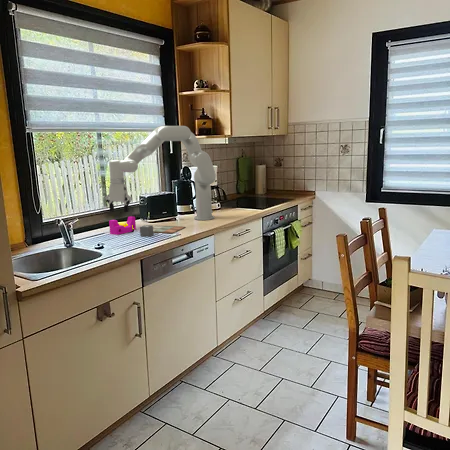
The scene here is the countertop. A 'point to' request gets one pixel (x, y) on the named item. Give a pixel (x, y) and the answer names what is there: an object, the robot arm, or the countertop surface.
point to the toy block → (119, 229)
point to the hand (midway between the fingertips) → (119, 211)
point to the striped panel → (167, 229)
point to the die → (146, 230)
